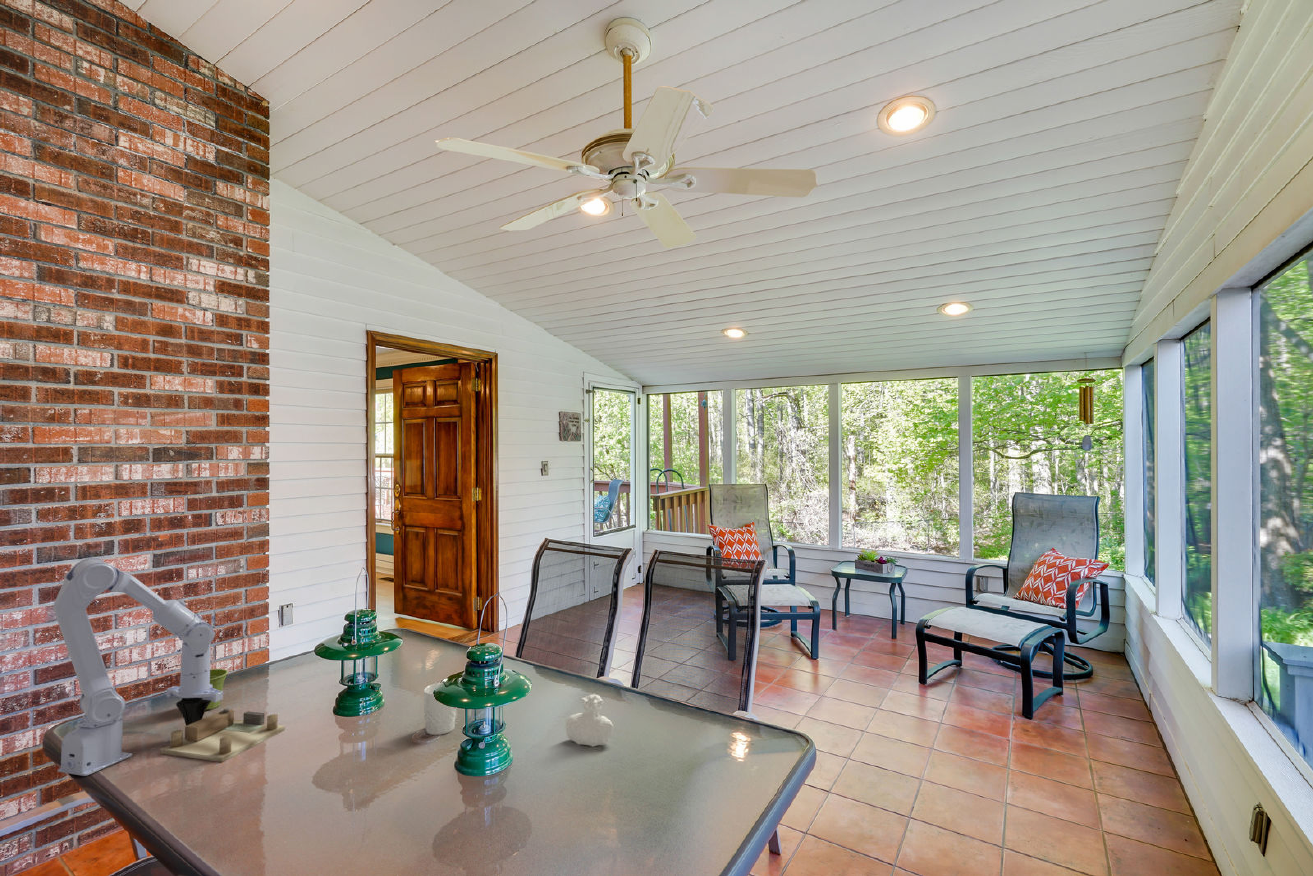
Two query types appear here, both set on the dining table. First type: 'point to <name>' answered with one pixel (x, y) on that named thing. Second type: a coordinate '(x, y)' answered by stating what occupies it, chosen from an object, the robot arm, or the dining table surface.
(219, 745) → the tan peg board
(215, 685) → the plant pot
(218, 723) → the hinged leg
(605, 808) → the dining table surface
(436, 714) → the white cup
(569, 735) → the white sack
